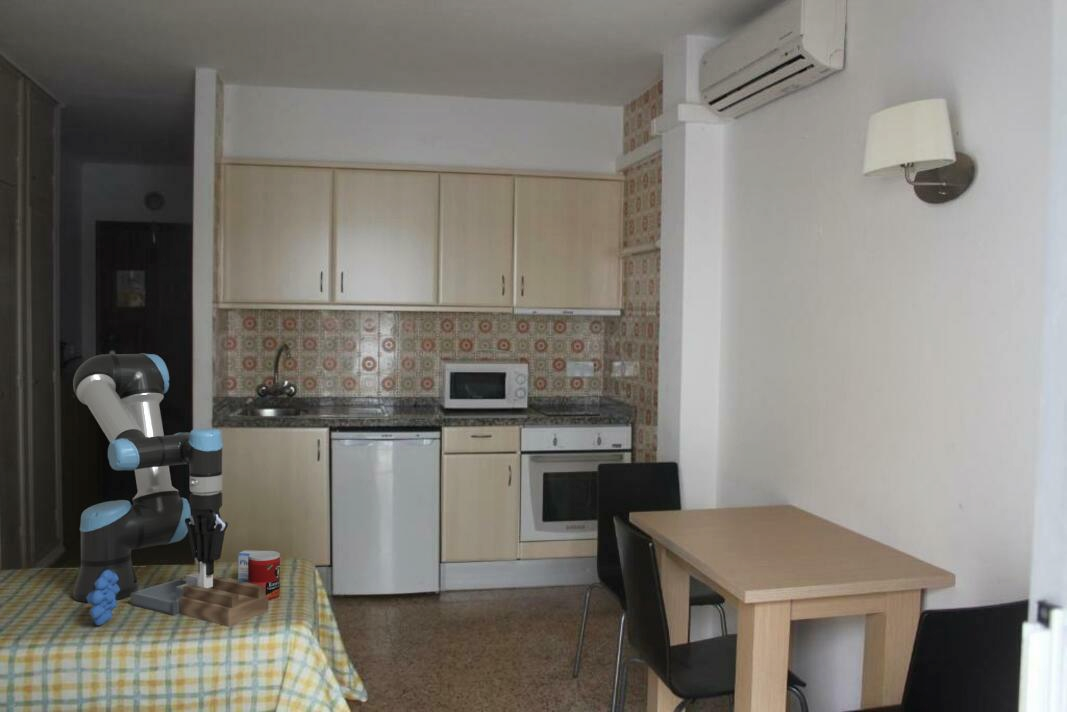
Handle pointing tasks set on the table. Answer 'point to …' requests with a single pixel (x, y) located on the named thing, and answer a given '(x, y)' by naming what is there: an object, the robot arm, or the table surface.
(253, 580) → the canned food
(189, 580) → the grey cube
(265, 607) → the slot block
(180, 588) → the grey stone cube
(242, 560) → the medicine box
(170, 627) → the table surface
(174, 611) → the tray
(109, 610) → the grapes
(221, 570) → the table surface
